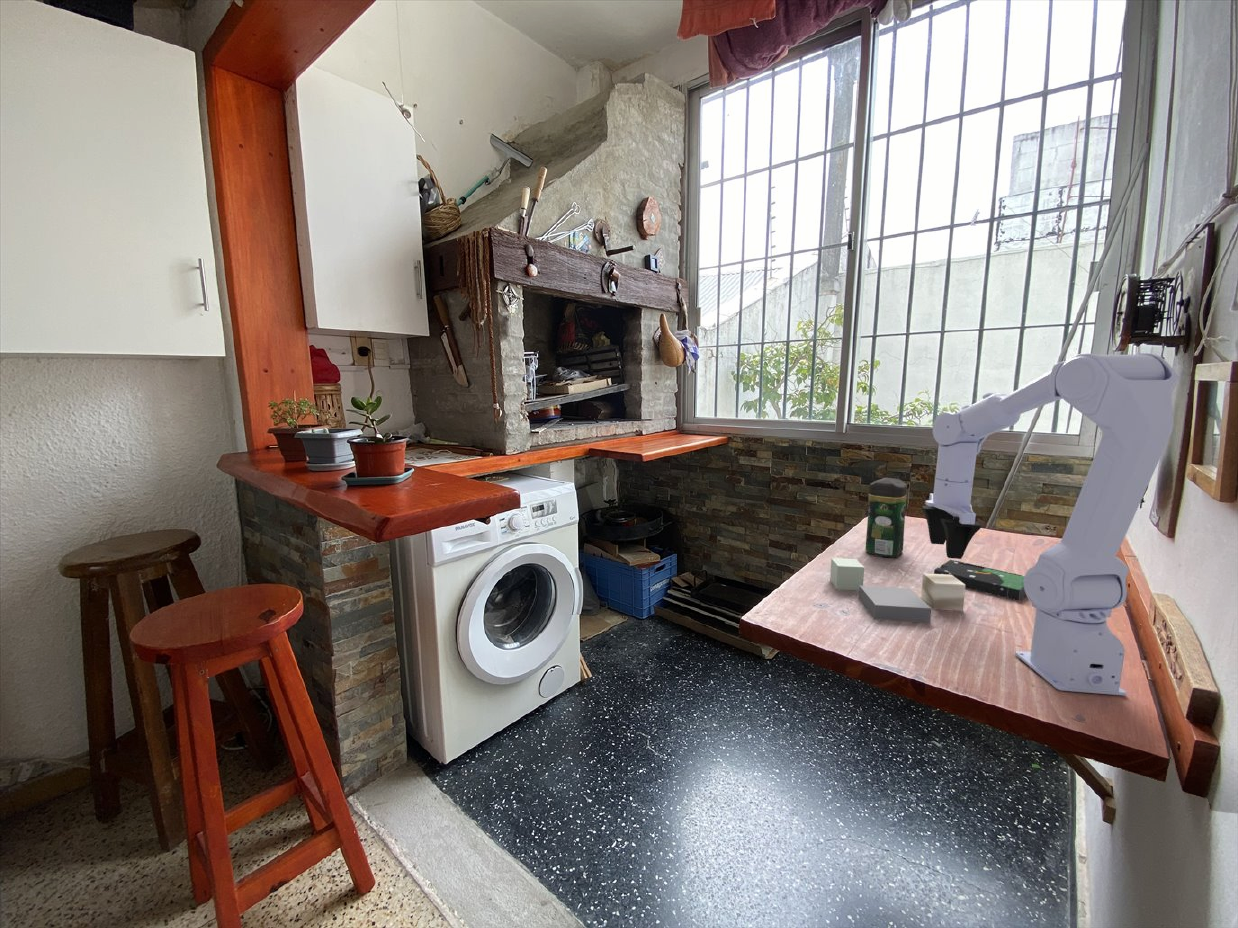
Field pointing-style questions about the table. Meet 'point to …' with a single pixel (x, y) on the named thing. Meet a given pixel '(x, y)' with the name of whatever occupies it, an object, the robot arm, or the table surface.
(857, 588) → the sage cube
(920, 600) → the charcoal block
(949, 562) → the disk drive
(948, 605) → the birch cube
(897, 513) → the coffee jar
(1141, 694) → the table surface
